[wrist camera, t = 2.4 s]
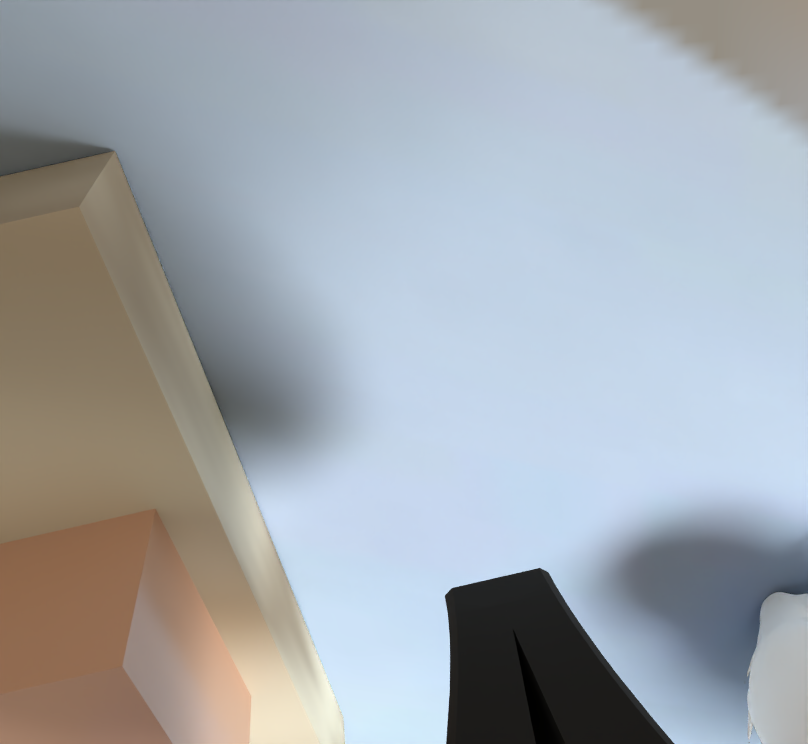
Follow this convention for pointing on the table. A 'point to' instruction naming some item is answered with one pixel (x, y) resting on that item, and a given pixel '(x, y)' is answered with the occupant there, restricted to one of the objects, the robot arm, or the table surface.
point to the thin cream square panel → (136, 426)
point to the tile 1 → (112, 642)
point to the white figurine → (780, 672)
